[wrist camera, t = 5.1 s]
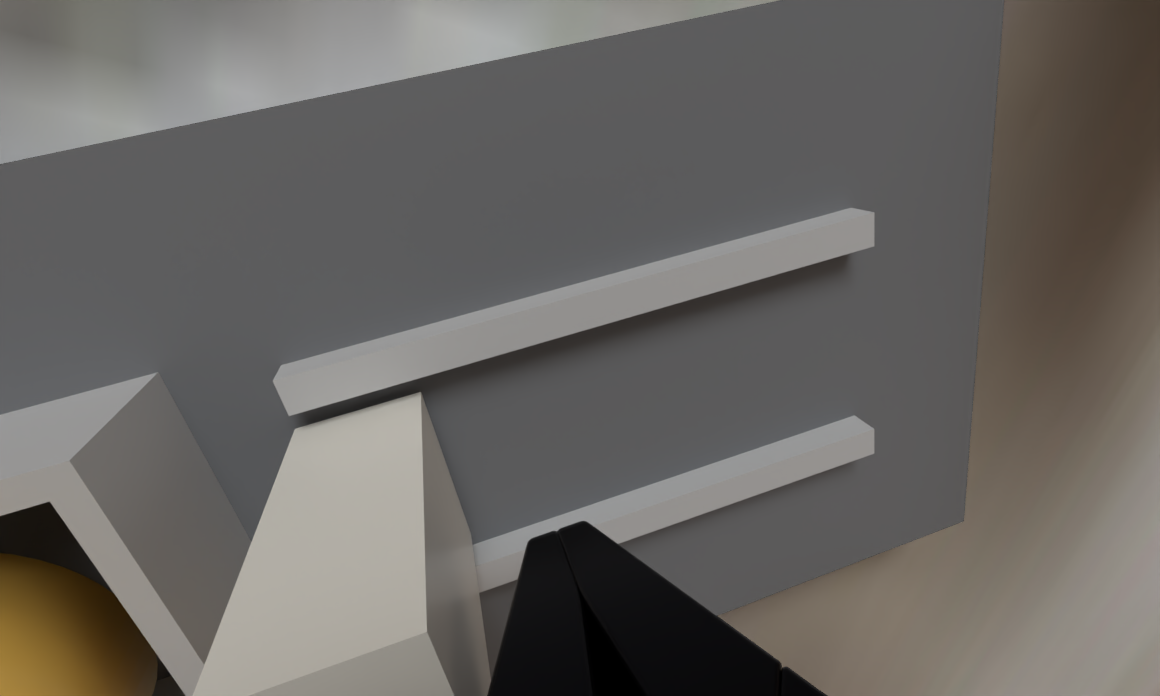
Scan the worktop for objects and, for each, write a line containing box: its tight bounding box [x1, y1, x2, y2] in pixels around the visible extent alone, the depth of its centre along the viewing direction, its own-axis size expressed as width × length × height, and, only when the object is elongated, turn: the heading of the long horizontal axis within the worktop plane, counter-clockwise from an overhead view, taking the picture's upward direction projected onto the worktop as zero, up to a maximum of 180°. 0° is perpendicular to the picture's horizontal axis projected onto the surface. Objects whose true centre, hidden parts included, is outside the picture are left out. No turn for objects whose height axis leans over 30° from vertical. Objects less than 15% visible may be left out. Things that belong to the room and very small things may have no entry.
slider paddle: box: [193, 392, 491, 696], centre depth 8 cm, size 2×3×5 cm, turn 13°
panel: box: [0, 0, 1004, 696], centre depth 10 cm, size 27×12×4 cm, turn 103°
